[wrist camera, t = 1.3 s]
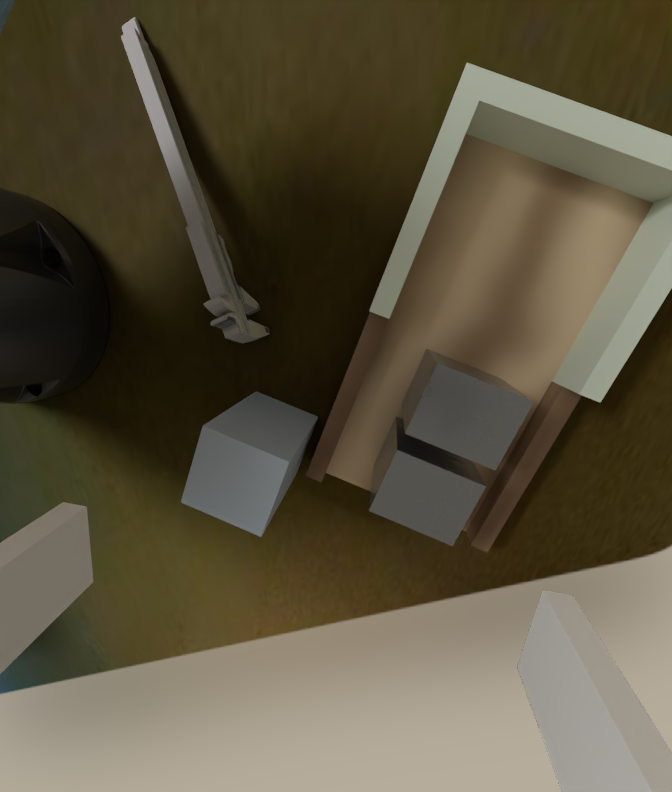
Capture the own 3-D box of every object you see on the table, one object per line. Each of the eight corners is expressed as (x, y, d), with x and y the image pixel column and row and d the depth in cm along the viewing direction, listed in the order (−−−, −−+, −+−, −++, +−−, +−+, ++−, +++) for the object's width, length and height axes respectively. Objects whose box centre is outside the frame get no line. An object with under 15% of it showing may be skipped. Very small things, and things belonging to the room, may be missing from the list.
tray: (372, 309, 24) (368, 310, 20) (454, 102, 20) (466, 62, 17) (570, 388, 23) (600, 402, 20) (688, 187, 20) (749, 164, 16)
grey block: (237, 448, 29) (180, 502, 21) (256, 391, 27) (202, 425, 19) (296, 473, 28) (261, 537, 21) (318, 416, 27) (289, 462, 19)
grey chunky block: (401, 403, 25) (404, 433, 19) (426, 348, 24) (437, 363, 18) (471, 431, 25) (495, 470, 19) (499, 377, 24) (534, 401, 18)
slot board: (312, 461, 28) (305, 476, 25) (452, 109, 21) (459, 85, 19) (479, 531, 27) (487, 552, 25) (677, 192, 21) (713, 178, 18)
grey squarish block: (373, 465, 26) (368, 510, 21) (395, 416, 25) (397, 449, 19) (439, 492, 26) (452, 546, 20) (464, 444, 25) (486, 486, 19)
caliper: (273, 333, 26) (238, 342, 20) (260, 339, 26) (221, 349, 20) (140, 21, 23) (49, -81, 17) (126, 31, 23) (31, -66, 17)
